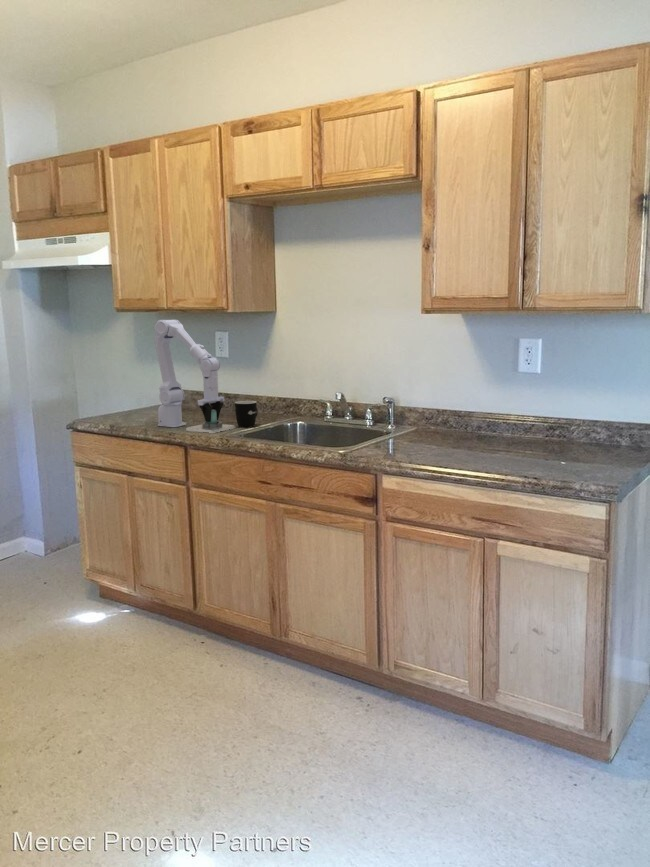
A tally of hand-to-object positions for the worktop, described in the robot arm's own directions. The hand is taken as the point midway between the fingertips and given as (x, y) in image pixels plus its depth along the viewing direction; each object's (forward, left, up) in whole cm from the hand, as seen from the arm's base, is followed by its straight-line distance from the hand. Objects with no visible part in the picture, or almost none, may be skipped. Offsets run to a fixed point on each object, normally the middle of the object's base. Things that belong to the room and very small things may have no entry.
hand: (211, 420), depth 294 cm
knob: (0, 0, -2) cm, 2 cm away
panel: (0, -1, -3) cm, 4 cm away
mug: (+8, +14, -4) cm, 17 cm away
